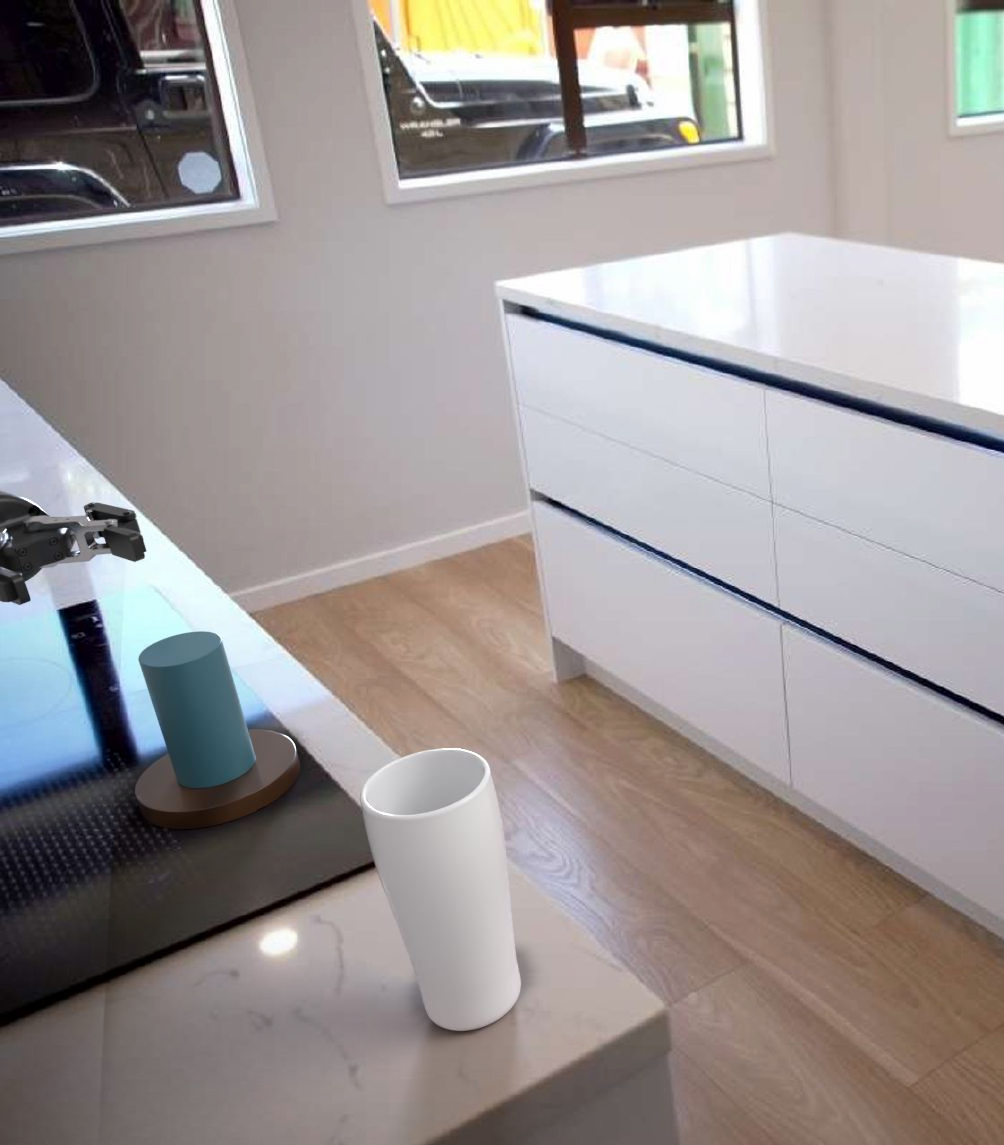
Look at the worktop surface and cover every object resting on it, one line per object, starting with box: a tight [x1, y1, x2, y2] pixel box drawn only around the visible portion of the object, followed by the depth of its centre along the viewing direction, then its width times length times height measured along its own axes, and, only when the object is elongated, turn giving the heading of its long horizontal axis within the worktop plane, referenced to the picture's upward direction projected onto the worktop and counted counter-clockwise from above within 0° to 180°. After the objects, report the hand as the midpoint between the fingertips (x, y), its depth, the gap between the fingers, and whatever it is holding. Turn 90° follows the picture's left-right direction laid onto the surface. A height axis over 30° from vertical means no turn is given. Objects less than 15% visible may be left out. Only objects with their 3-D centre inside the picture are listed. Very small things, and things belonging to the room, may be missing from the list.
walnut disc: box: [134, 729, 301, 830], centre depth 97 cm, size 11×11×2 cm
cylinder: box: [137, 630, 256, 788], centre depth 94 cm, size 5×5×10 cm
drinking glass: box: [359, 748, 522, 1032], centre depth 71 cm, size 7×7×15 cm
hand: (82, 568), depth 96 cm, fingers open, 8 cm apart
